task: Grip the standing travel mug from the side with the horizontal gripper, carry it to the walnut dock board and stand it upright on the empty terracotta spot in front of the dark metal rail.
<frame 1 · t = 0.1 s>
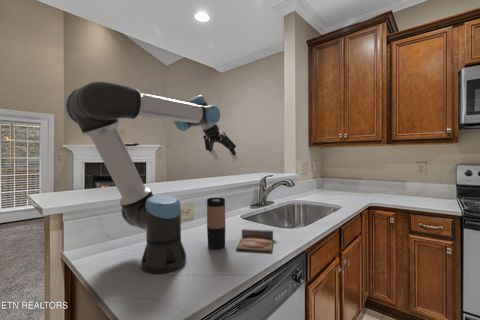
hand: (226, 159, 129), 36 cm above the worktop, tool tilted 35°, fingers open, 13 cm apart
travel mug: (216, 247, 100), on the worktop
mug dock: (255, 244, 101), on the worktop
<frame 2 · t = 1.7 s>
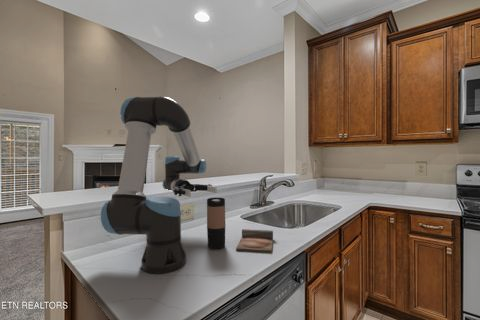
hand: (203, 191, 106), 22 cm above the worktop, tool horizontal, fingers open, 13 cm apart
nothing on the worktop moved.
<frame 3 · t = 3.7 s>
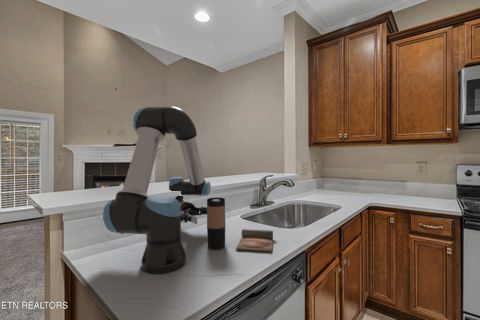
hand: (209, 217, 104), 11 cm above the worktop, tool horizontal, fingers open, 13 cm apart
nothing on the worktop moved.
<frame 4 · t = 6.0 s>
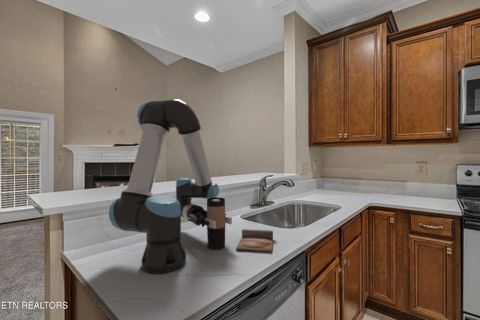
hand: (223, 222, 96), 11 cm above the worktop, tool horizontal, fingers closed on travel mug, 7 cm apart
travel mug: (216, 247, 100), on the worktop, touching gripper
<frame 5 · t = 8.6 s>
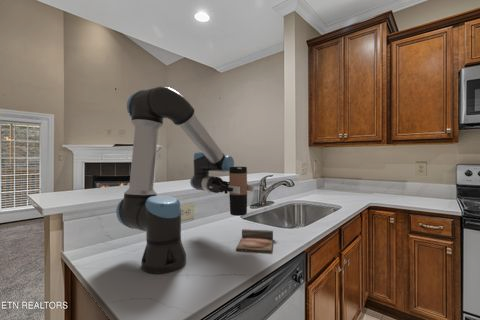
hand: (246, 189, 98), 24 cm above the worktop, tool horizontal, fingers closed on travel mug, 7 cm apart
travel mug: (238, 214, 102), point 13 cm above the worktop, touching gripper
when the fingers open (13 cm above the worktop, at t = 11.5 s): travel mug drops 1 cm, resting on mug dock.
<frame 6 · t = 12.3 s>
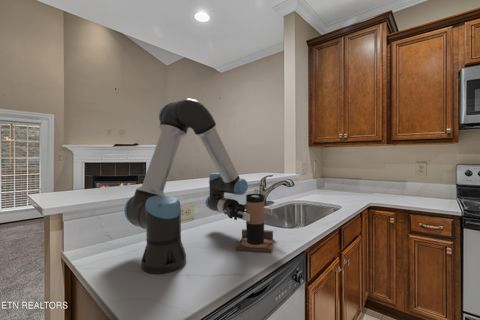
hand: (261, 214, 98), 13 cm above the worktop, tool horizontal, fingers open, 13 cm apart
travel mug: (255, 242, 101), point 1 cm above the worktop, touching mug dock
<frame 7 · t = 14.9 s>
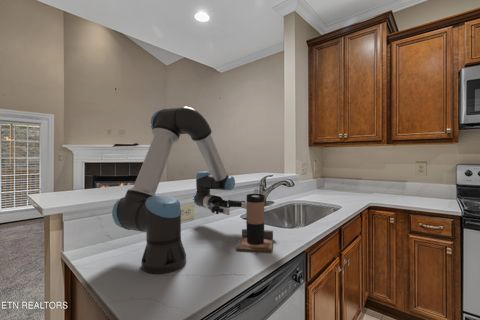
hand: (240, 209, 108), 14 cm above the worktop, tool horizontal, fingers open, 13 cm apart
nothing on the worktop moved.
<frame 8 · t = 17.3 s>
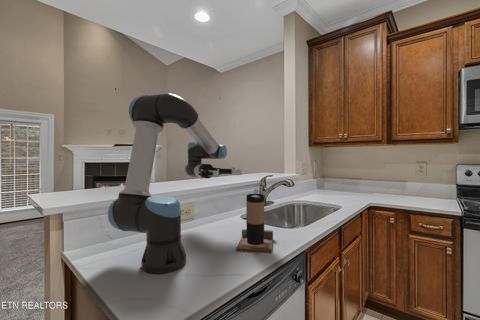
hand: (230, 173, 109), 30 cm above the worktop, tool horizontal, fingers open, 13 cm apart
nothing on the worktop moved.
at the end: travel mug 0.1 cm off-centre on the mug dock, point 1.0 cm above the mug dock's base; travel mug tilted 0°; the gripper is holding nothing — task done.
